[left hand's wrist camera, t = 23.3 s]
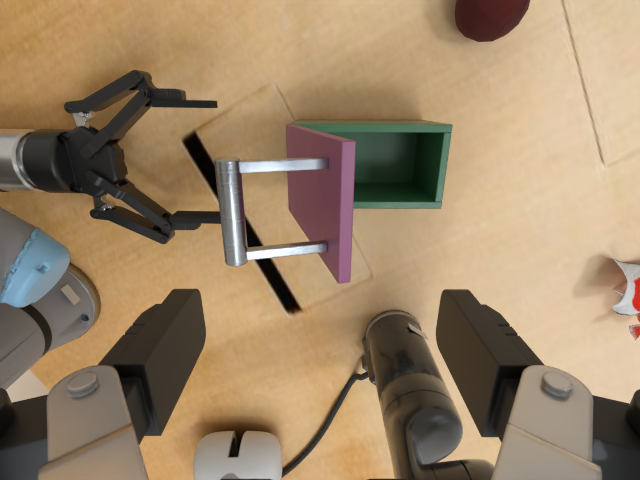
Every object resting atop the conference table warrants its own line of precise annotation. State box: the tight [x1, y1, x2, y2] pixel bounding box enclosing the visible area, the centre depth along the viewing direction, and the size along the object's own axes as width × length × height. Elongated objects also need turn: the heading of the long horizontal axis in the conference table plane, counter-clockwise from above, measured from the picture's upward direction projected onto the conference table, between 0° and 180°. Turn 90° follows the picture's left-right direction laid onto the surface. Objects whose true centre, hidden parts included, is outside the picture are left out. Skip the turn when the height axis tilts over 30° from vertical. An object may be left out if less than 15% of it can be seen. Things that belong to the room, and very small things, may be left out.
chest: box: [292, 120, 452, 209], centre depth 43 cm, size 17×9×11 cm, turn 90°
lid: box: [214, 124, 356, 283], centre depth 28 cm, size 18×9×8 cm
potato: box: [455, 0, 530, 42], centre depth 38 cm, size 7×8×7 cm
